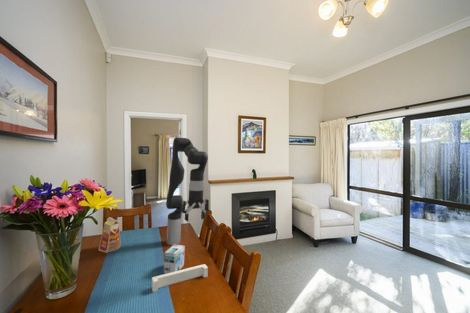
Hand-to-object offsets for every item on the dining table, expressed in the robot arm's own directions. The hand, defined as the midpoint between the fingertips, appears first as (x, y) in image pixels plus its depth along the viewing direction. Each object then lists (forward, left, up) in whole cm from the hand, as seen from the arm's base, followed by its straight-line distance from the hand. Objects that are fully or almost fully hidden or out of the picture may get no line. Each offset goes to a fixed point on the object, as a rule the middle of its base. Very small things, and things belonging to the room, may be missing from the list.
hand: (194, 219), depth 103 cm
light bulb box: (-8, -7, -28) cm, 30 cm away
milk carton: (-50, -37, -28) cm, 69 cm away
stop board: (+4, -7, -28) cm, 29 cm away
